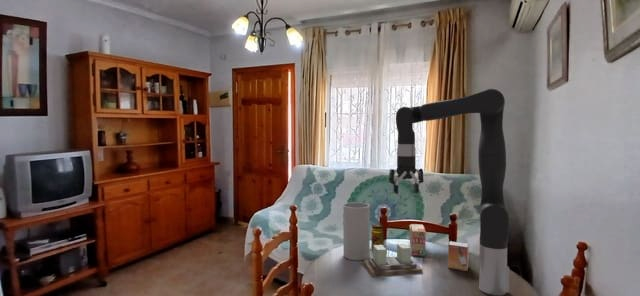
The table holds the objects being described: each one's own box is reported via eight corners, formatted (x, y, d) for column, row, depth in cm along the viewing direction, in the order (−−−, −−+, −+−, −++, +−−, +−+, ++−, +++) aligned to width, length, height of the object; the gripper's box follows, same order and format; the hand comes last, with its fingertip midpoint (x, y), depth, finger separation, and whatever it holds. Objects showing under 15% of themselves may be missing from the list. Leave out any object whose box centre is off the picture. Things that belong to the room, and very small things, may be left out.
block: (382, 262, 150) (382, 244, 150) (386, 267, 144) (386, 249, 144) (373, 262, 150) (373, 245, 149) (377, 268, 144) (377, 249, 143)
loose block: (405, 260, 152) (405, 243, 151) (410, 266, 146) (410, 247, 146) (397, 261, 151) (397, 243, 151) (402, 266, 145) (402, 248, 145)
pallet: (409, 260, 156) (409, 254, 156) (422, 272, 142) (422, 265, 142) (363, 263, 153) (363, 256, 153) (372, 276, 139) (372, 269, 139)
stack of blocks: (409, 241, 184) (409, 219, 183) (421, 242, 182) (421, 219, 182) (412, 255, 163) (412, 230, 162) (425, 256, 161) (425, 231, 161)
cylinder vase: (341, 260, 157) (341, 207, 156) (345, 250, 170) (345, 201, 168) (368, 262, 154) (368, 208, 153) (370, 252, 167) (370, 202, 165)
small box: (447, 268, 147) (447, 244, 147) (449, 263, 152) (449, 240, 152) (467, 271, 144) (467, 247, 143) (468, 266, 149) (468, 243, 148)
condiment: (369, 249, 171) (369, 226, 171) (372, 244, 179) (372, 222, 179) (383, 251, 169) (383, 227, 168) (386, 245, 177) (386, 223, 176)
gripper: (393, 155, 135) (393, 195, 136) (426, 155, 137) (426, 194, 138) (386, 154, 143) (386, 192, 144) (418, 154, 145) (418, 191, 146)
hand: (406, 193), depth 141 cm, fingers open, 8 cm apart
